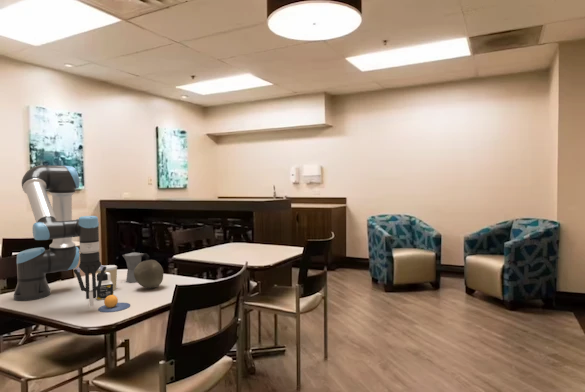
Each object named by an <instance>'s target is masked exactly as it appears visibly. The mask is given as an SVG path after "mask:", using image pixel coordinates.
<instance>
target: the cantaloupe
mask: <svg viewBox="0 0 585 392" xmlns="http://www.w3.org/2000/svg"><path fill="white" fill-rule="evenodd" d="M145 260H146V259H145ZM145 260H143V261H142V260H141V262H140V263H139V264H138V265H137V266H136V268H135V270H134V277H135V279H136V281H137V282H136V283H138V285H140V286H141V287H142V288H145V289H150V290H151V289H155V288H157V287H159V286H160V285H161V283H163V280H164V269H163V267H162V265H161V264H160V263H159V262H158V261H157V260H155V259H149V260H146V261H145Z"/></svg>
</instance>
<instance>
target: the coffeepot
mask: <svg viewBox="0 0 585 392" xmlns="http://www.w3.org/2000/svg"><path fill="white" fill-rule="evenodd" d="M121 256H122V257H123V258H124V260H125V262H126V263H125V264H126V267H127V272H126V281H125V282H126V283H128V284H131V283H132V284H134V283H137V281H136V279H135V277H134V270H135V268H136V266H137V265H138V264H139V263H140V262H142V258H143V257H145V260H144V261H146V260H150V255H149V254H148V253H147V252H144V253H142V252H141V253H140V252H136V249H135V248H133V249H131V252H130V253H125V254H122V255H121Z"/></svg>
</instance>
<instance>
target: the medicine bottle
mask: <svg viewBox="0 0 585 392" xmlns="http://www.w3.org/2000/svg"><path fill="white" fill-rule="evenodd" d="M99 278H100V273H98V272H97V273H96V286H98V282H99ZM109 295H114V290H113V283H112V282H111V275H110V273H109V272H104V274H103V278H102V283H101V287H100V289H98V290H96V298H95V299H96V300H97V301H102V300H105V298H106V297H107V296H109Z"/></svg>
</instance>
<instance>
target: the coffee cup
mask: <svg viewBox="0 0 585 392" xmlns="http://www.w3.org/2000/svg"><path fill="white" fill-rule="evenodd" d="M105 266H106V270H105V271H104V272H109V273H110V275H111V282H112V283H113V291H115V290H116V289H117V279H118V278H117V275H118V270H117V269H118V266H117V265H115V264H109V265H107V264H106V265H105ZM98 273H101V270H100V267H99V269H98V270H97V274H98Z"/></svg>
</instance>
